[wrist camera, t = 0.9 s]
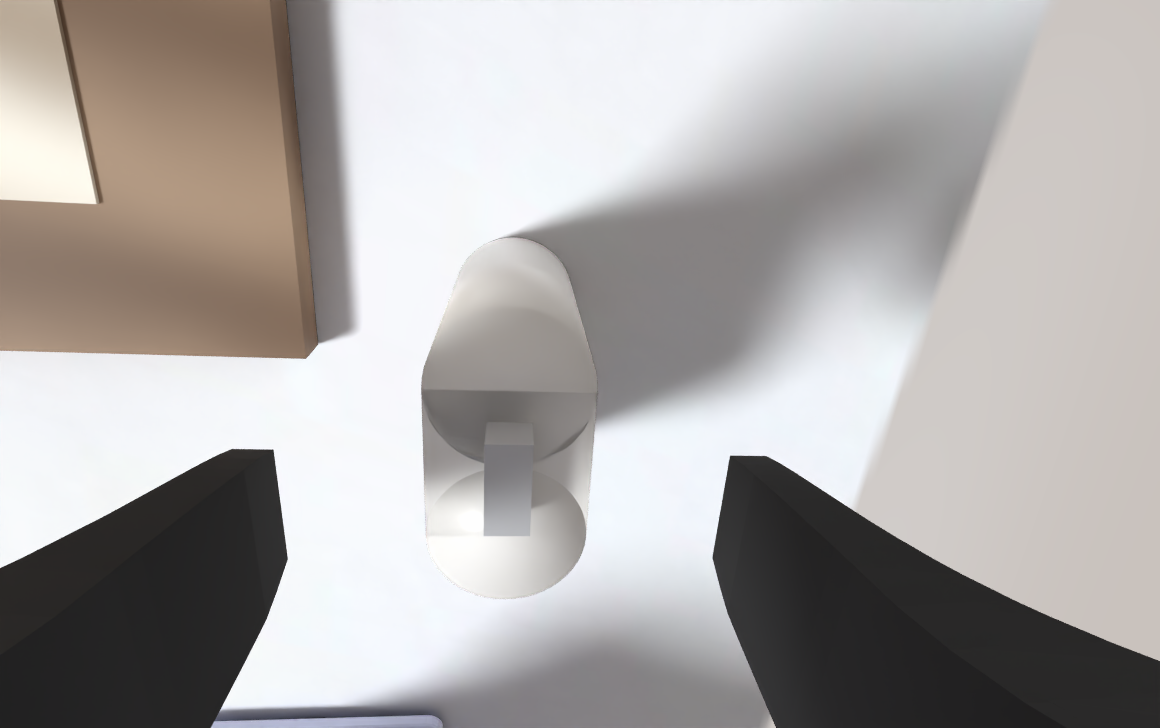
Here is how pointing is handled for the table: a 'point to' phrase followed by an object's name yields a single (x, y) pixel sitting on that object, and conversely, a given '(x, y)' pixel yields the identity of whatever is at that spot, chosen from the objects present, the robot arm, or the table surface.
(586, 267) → the table surface
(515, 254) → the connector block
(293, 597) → the table surface
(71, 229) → the walnut board
